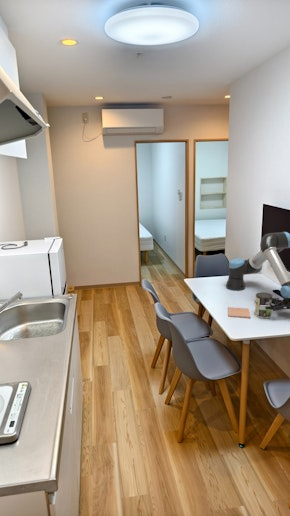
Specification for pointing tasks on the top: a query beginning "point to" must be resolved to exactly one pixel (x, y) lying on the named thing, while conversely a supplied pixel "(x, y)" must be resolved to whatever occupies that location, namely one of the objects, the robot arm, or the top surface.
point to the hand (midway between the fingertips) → (257, 304)
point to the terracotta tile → (238, 312)
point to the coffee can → (263, 300)
